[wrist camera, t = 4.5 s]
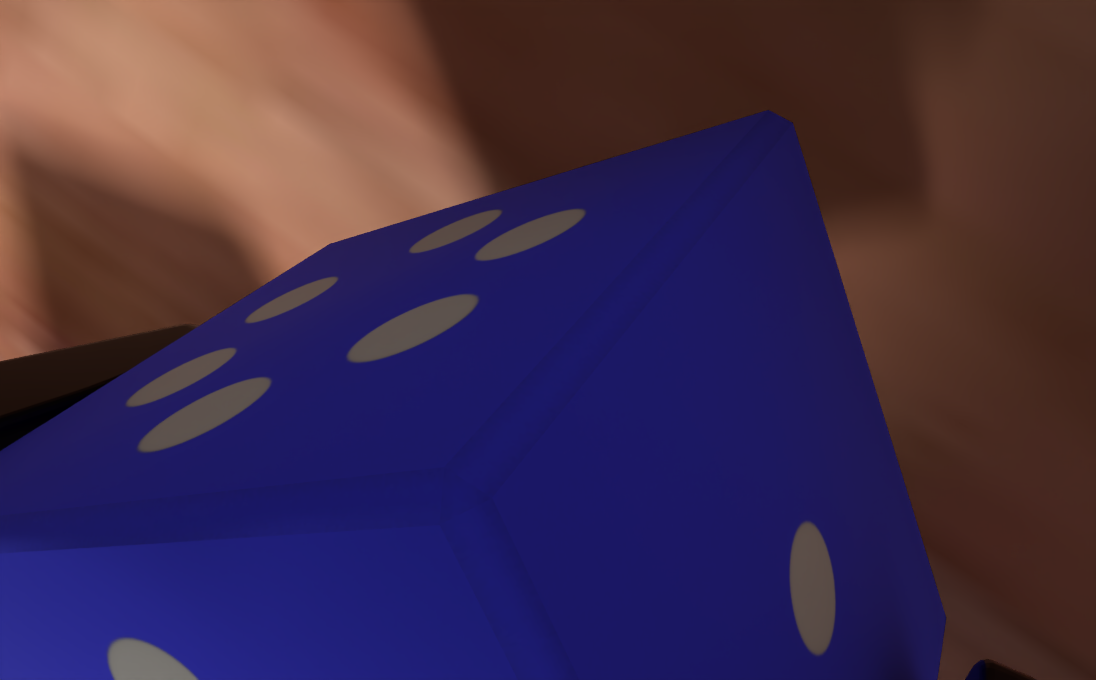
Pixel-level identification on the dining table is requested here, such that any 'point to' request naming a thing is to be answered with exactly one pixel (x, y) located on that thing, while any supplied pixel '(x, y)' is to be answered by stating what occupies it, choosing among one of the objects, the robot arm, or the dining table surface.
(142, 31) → the dining table surface
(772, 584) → the die
